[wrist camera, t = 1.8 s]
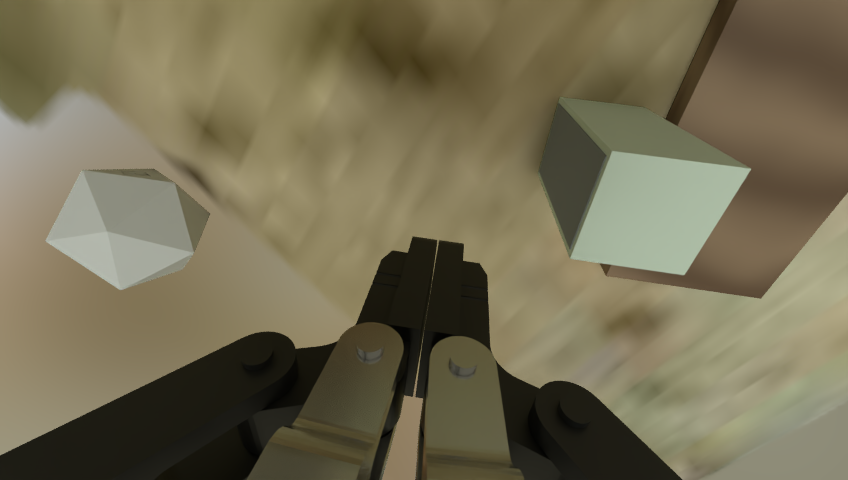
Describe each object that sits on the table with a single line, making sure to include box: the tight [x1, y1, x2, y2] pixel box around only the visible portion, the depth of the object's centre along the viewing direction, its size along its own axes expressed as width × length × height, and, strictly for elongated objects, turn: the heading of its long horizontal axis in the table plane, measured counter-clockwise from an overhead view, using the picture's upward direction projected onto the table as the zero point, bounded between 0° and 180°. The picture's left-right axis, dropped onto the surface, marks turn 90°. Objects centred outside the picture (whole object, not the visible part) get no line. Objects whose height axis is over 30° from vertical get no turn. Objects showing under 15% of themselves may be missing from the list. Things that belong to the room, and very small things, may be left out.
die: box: [46, 169, 210, 290], centre depth 26 cm, size 8×9×10 cm
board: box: [600, 0, 848, 298], centre depth 22 cm, size 18×11×2 cm, turn 175°
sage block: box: [538, 97, 751, 275], centre depth 19 cm, size 5×5×10 cm
